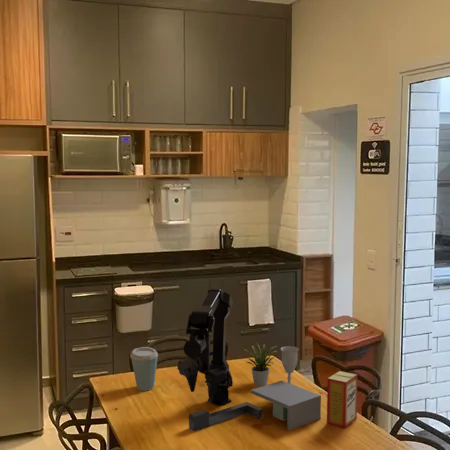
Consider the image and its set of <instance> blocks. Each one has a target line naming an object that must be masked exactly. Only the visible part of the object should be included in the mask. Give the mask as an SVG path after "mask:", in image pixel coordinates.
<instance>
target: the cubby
mask: <svg viewBox="0 0 450 450" xmlns="http://www.w3.org/2000/svg"><path fill="white" fill-rule="evenodd" d="M287 382H288V381H287ZM287 382H286V381H284V380H278V381H276V382H272V383H270V384H267V385H265V386H258V387H256V388H252V389H250V394H252V395H254V396H256V397H260V398H261V399H264V400H265V401H269V402H271V403H272V404H273V403H275V404H277V405H280V406H282V407H285V408H287V409H288V411H287V419H286V421H287V422H286V424H287V425H286V427H287V428H286V429H287V431H292V430H294V429H297V428H300V427H302V426H305V425H307V424H311V423H313V422H315V421H318V420H321V413H322V412H321V411H322V410H321V409H322V408H321V407H322V401H321V400H322V397H321V396H322V395H320V394H318V393H315V392H313V391H310V390H308V389H306V388H303V387H299V386H297V385H294V384H292V383H291V384H289V383H287Z"/></svg>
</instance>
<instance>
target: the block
mask: <svg viewBox="0 0 450 450" xmlns="http://www.w3.org/2000/svg"><path fill="white" fill-rule="evenodd" d="M287 411H288V409H287V408H285V407H282V406H280V405H277V404H275V403H273V402H272V417H274V418H276V419H278V418H279V419H278V420H281V421H287Z"/></svg>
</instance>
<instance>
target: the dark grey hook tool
mask: <svg viewBox="0 0 450 450" xmlns="http://www.w3.org/2000/svg"><path fill="white" fill-rule="evenodd" d="M246 414H247V415H250V416H252V417H253V418H256V419H258V420H259V419H263V418H264V408H262V407H260V406H257V405H255V404H252V403H251V402H248V401H245V402H242V403H239V404H235V405H233V406H229V407H227V408H222V409H219V410H217V411H213V412H209V411H208V410H206V409H203V408H202V409H200V410H197V411H194V412H193V411H192V412H190V413H188V429H189V430H191V431H193V432H197V431H200V430H203V429H205V428H206V429H207V428H209V427H210V426H213V425H214V426H215V425H216V424H220V423H222V422H225V421H230V420H232V419H235V418H237V417H240V416H243V415H246ZM262 417H263V418H262Z"/></svg>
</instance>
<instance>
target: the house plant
mask: <svg viewBox="0 0 450 450" xmlns="http://www.w3.org/2000/svg"><path fill="white" fill-rule="evenodd" d="M256 345H257V347H258V348H259V349H257V348H256V347H255V346H254V345H251V347H252V350H253V354H252V353H251V352H250V351H248V350H247V349H243V350H244V351H247V352H249V354H250V355H252V357H253V359H252V358H250V357H247V359H248V360H249V361H246V362H245V363H247V364H251V366H252V367H251V374H252V379H253V385H254V386H256V387H262V386H265V385H268V379H269V374H270V367H272V365H274V362H273V361H272V360H273V359H274V358H275V356H273V357H271V356H272V355H273V354H274V353H278V350H274V351H272V350H273V349H275V348H276V347H278V345H275V346H272V347H270V348H269V349H266V344H265V343H264V344H263V345H262V349H261V346H260V345H259V343H256ZM258 350H259V352H258ZM271 351H272V352H271ZM267 366H269V367H267Z"/></svg>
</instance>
